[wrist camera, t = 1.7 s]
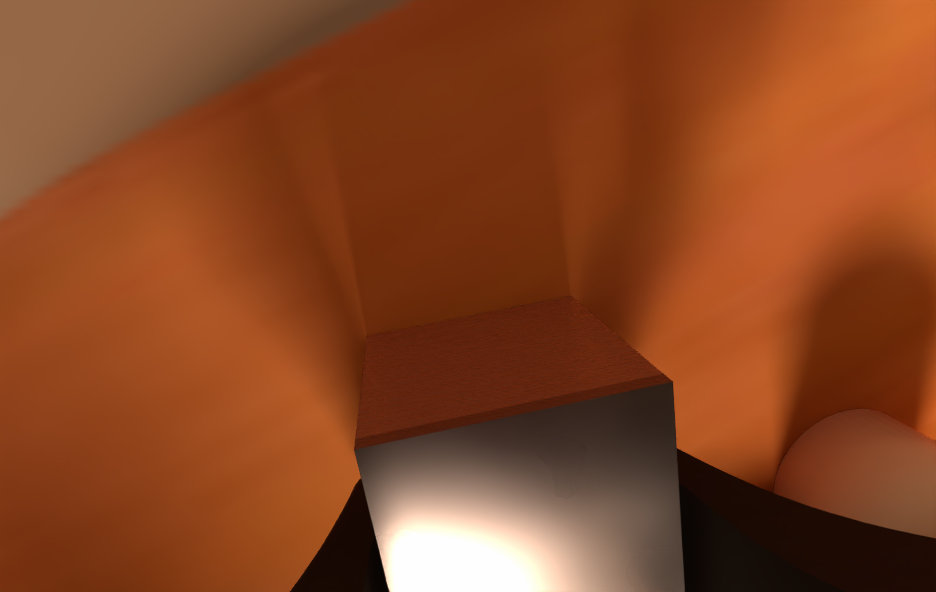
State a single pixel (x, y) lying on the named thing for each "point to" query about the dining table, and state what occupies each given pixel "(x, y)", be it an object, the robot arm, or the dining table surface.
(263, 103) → the dining table surface
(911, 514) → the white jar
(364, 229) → the dining table surface
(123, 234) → the dining table surface
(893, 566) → the robot arm
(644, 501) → the tea tin
